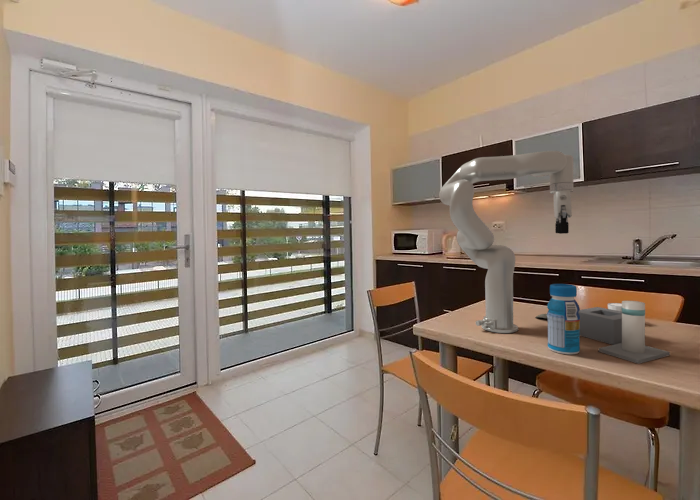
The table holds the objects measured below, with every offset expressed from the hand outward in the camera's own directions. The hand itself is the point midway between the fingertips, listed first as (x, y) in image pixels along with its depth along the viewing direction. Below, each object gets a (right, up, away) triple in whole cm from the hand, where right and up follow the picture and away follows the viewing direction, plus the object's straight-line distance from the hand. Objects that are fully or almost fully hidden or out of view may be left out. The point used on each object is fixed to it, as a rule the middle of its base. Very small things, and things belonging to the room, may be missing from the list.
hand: (561, 233), depth 123 cm
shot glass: (+22, -35, 0) cm, 41 cm away
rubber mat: (+1, -37, -30) cm, 47 cm away
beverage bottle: (-16, -37, -25) cm, 48 cm away
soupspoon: (-1, -36, +1) cm, 36 cm away
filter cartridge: (+1, -36, -30) cm, 47 cm away
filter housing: (+5, -36, -15) cm, 39 cm away
